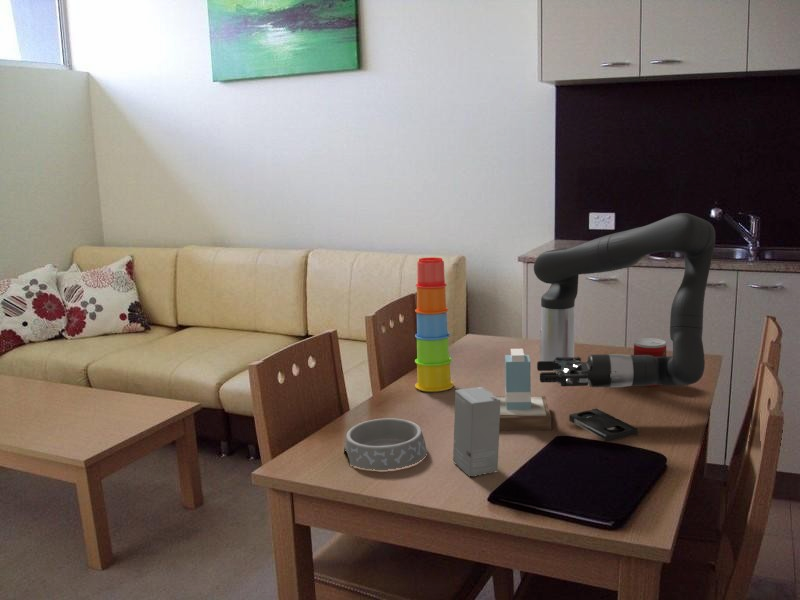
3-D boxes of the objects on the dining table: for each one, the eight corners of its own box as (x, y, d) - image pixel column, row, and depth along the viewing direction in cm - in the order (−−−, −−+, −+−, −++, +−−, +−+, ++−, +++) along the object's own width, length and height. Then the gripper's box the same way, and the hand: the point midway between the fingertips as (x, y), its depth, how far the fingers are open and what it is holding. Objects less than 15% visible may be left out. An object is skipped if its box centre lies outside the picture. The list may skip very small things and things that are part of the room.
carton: (505, 401, 182) (504, 348, 179) (529, 401, 181) (528, 348, 179) (506, 409, 176) (505, 355, 174) (531, 409, 176) (530, 355, 173)
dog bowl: (355, 479, 153) (354, 454, 151) (337, 444, 170) (336, 422, 169) (436, 465, 157) (435, 441, 156) (410, 433, 174) (409, 411, 173)
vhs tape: (568, 422, 177) (568, 414, 177) (596, 416, 180) (596, 408, 180) (607, 444, 164) (608, 435, 164) (637, 436, 167) (637, 428, 167)
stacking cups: (407, 387, 205) (401, 260, 197) (434, 378, 211) (430, 254, 204) (433, 396, 197) (429, 264, 190) (461, 386, 204) (457, 258, 196)
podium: (487, 408, 187) (487, 395, 186) (545, 407, 186) (545, 394, 185) (488, 430, 173) (488, 416, 173) (551, 429, 172) (551, 416, 171)
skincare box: (452, 462, 157) (450, 389, 154) (483, 456, 160) (481, 384, 156) (470, 479, 150) (468, 402, 146) (502, 472, 152) (501, 396, 149)
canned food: (669, 386, 197) (670, 345, 194) (637, 387, 197) (638, 346, 195) (659, 376, 204) (661, 337, 202) (629, 377, 205) (630, 338, 202)
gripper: (605, 346, 181) (536, 347, 183) (615, 364, 167) (540, 365, 169) (605, 376, 183) (536, 377, 184) (615, 396, 169) (540, 397, 170)
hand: (538, 371), depth 177 cm, fingers open, 8 cm apart
